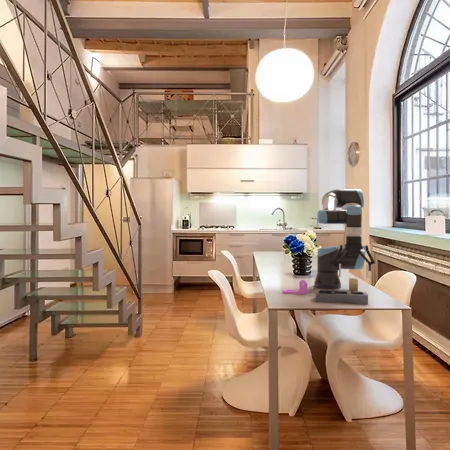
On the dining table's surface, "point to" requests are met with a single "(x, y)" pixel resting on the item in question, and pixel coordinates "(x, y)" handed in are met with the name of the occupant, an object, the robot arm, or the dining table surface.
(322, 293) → the dark grey tray
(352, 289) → the brass block
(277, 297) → the dining table surface
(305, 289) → the bracket
